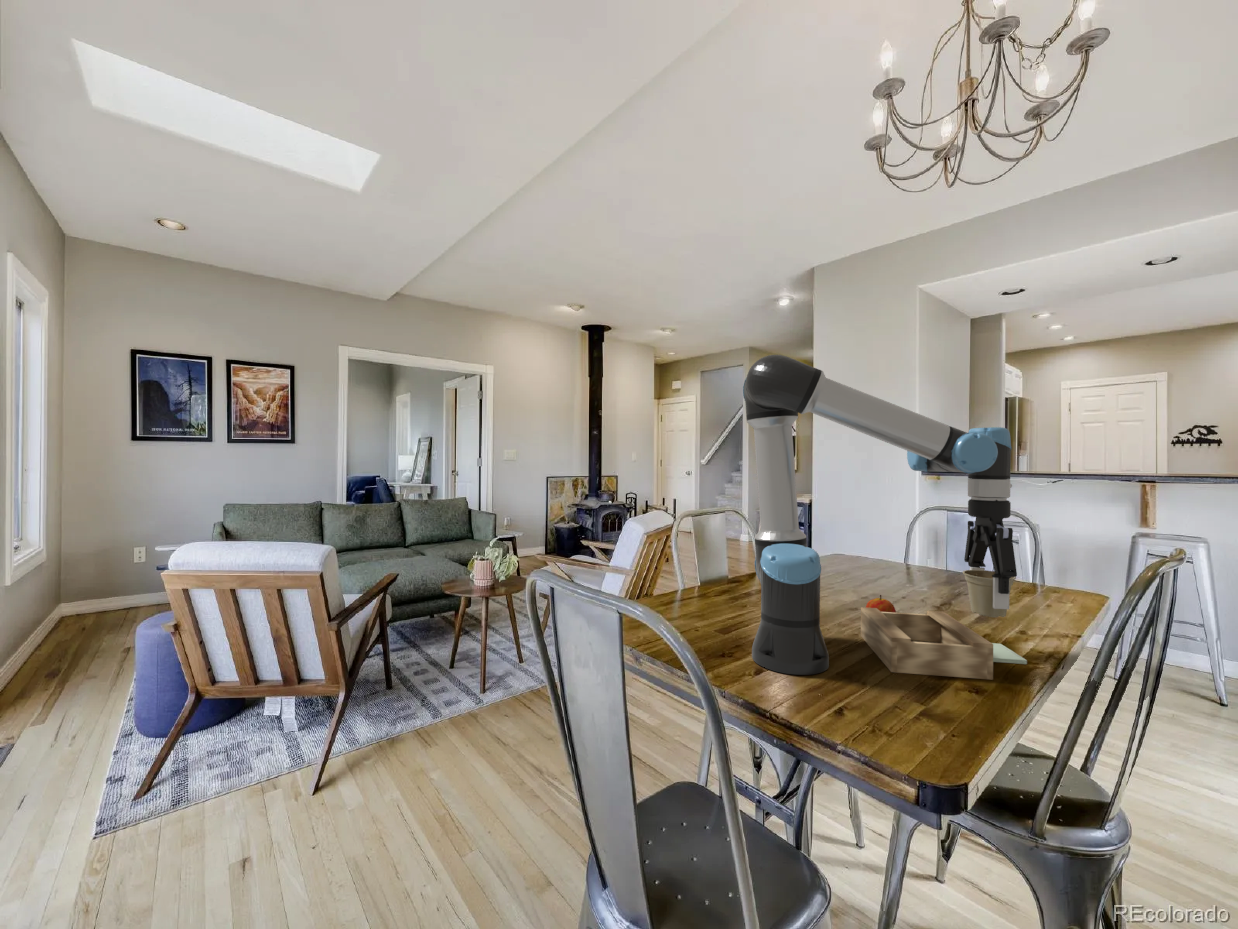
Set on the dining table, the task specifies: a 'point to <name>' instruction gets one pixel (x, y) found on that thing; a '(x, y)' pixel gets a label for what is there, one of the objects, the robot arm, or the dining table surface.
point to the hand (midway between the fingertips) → (988, 602)
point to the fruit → (881, 605)
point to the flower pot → (983, 592)
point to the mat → (1006, 655)
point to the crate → (927, 644)
